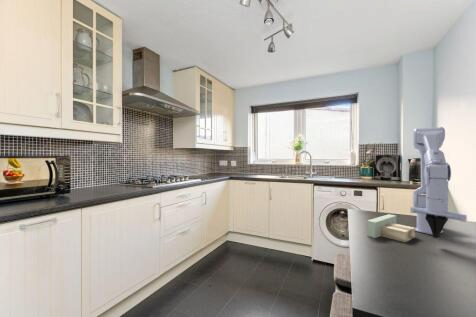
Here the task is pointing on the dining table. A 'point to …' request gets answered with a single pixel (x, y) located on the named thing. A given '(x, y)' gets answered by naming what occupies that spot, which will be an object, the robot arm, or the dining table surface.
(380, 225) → the sage board
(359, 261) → the dining table surface
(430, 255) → the dining table surface
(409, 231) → the maple block
